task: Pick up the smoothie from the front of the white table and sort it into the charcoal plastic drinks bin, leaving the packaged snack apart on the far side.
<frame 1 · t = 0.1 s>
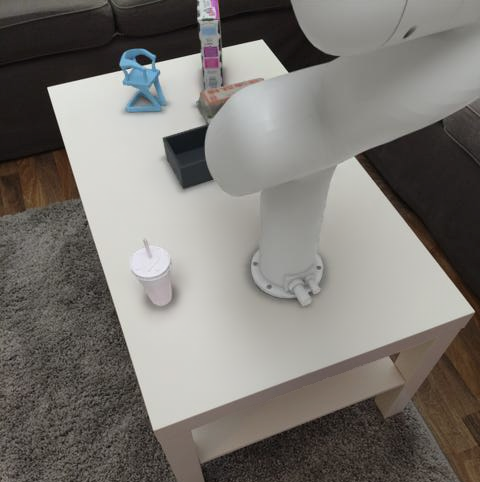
packaged product: (238, 108, 104), on the table
drinks bin: (198, 165, 93), on the table
candy bar box: (214, 82, 110), on the table
chair: (148, 105, 106), on the table
smoothie: (161, 297, 76), on the table
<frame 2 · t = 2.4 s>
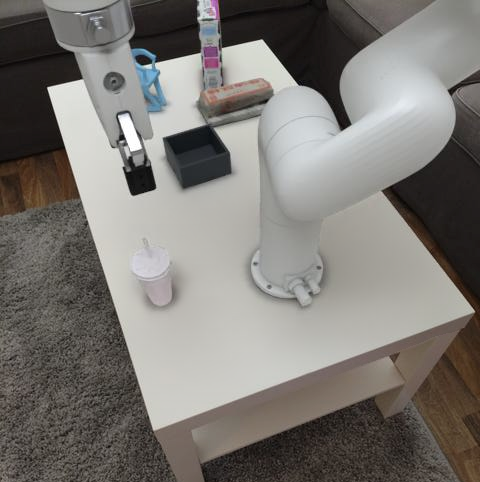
hand: (132, 167, 56), 25 cm above the table, tool pointing down, fingers open, 9 cm apart
nothing on the table moved.
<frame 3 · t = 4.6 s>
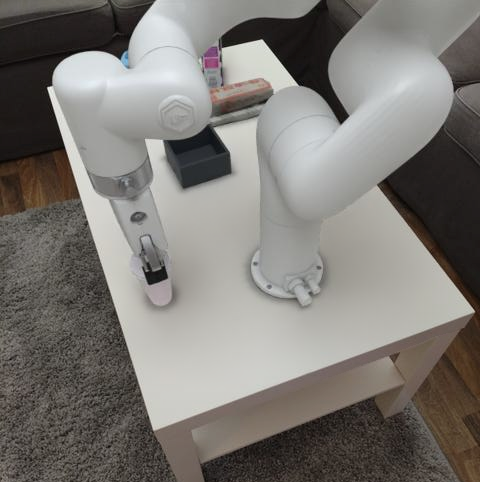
hand: (150, 263, 68), 9 cm above the table, tool pointing down, fingers closed on smoothie, 6 cm apart
smoothie: (161, 297, 76), on the table, touching gripper
everything else where it was.
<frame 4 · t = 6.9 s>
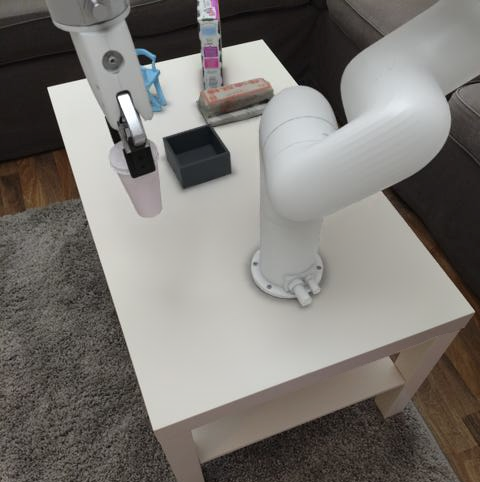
hand: (134, 156, 56), 25 cm above the table, tool pointing down, fingers closed on smoothie, 6 cm apart
smoothie: (149, 209, 64), point 16 cm above the table, touching gripper
everything else where it was.
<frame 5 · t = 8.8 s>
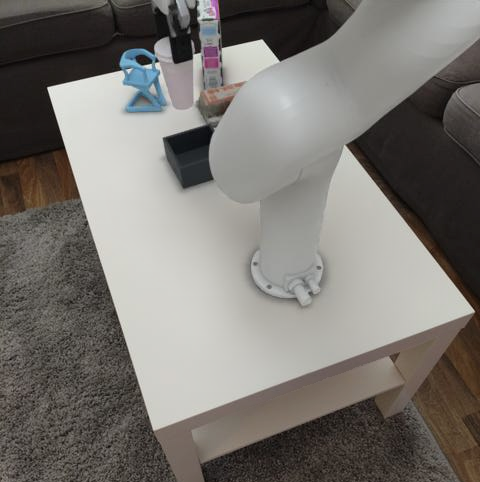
hand: (175, 49, 69), 26 cm above the table, tool pointing down, fingers closed on smoothie, 6 cm apart
smoothie: (183, 104, 77), point 16 cm above the table, touching gripper
everything else where it was.
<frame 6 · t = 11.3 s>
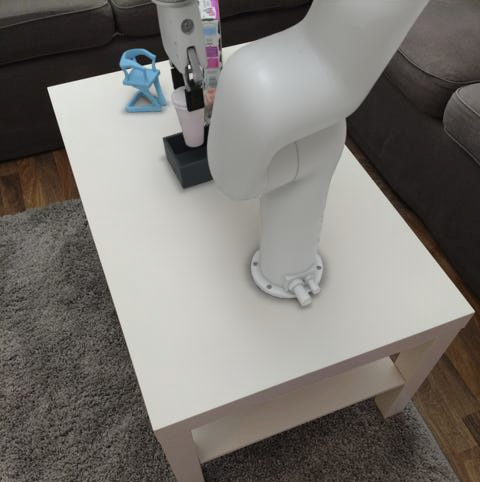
hand: (189, 98, 80), 15 cm above the table, tool pointing down, fingers closed on smoothie, 6 cm apart
smoothie: (194, 142, 88), point 6 cm above the table, touching gripper
everything else where it was.
when the fingers open (10 cm above the table, at t = 13.2 s): smoothie stays where it is, resting on drinks bin.
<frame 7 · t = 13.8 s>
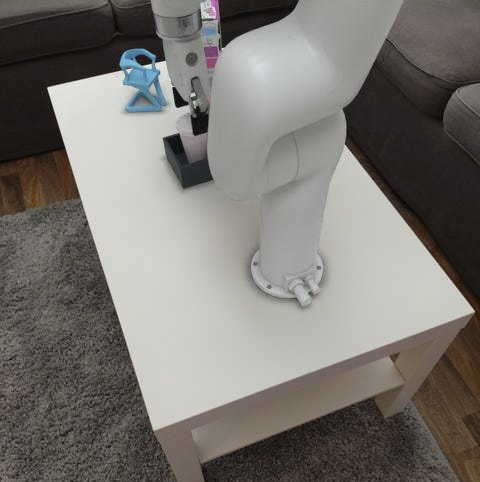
hand: (192, 119, 84), 11 cm above the table, tool pointing down, fingers open, 9 cm apart
smoothie: (197, 164, 93), resting on drinks bin
everything else where it was.
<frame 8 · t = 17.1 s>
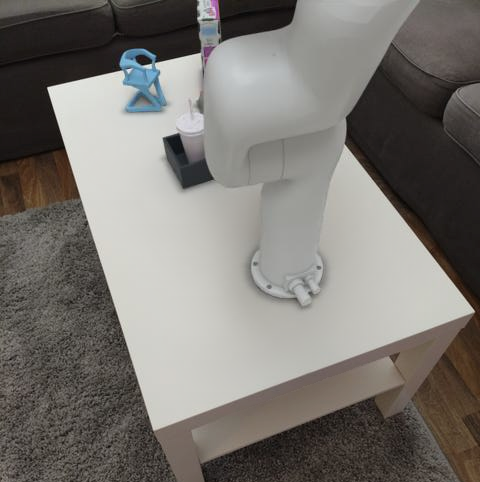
nothing on the table moved.
at the end: smoothie 0.1 cm off-centre in the drinks bin, point 0.4 cm above the drinks bin's base; smoothie tilted 0° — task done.
